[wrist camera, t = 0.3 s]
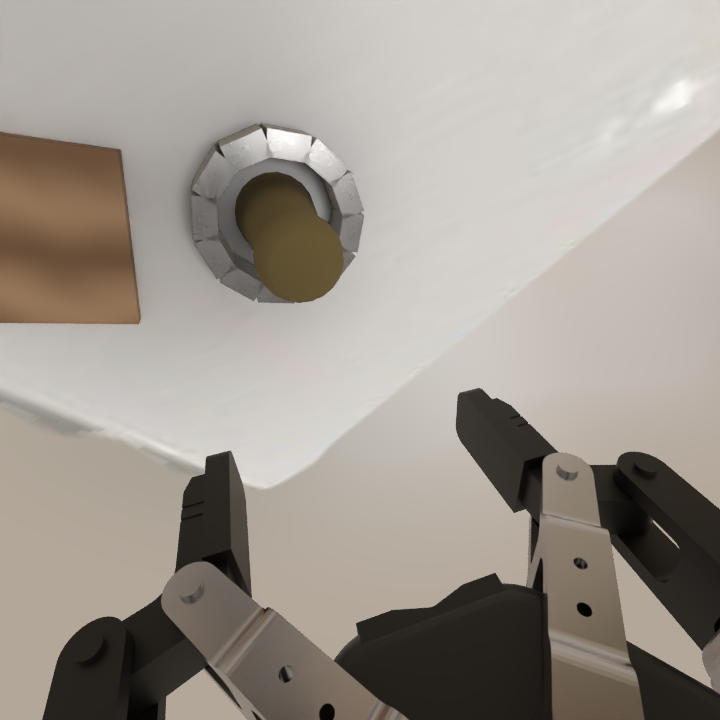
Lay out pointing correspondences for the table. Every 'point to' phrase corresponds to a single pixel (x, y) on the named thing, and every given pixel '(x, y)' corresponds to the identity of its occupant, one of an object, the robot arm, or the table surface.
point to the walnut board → (64, 234)
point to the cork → (288, 238)
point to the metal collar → (247, 152)
